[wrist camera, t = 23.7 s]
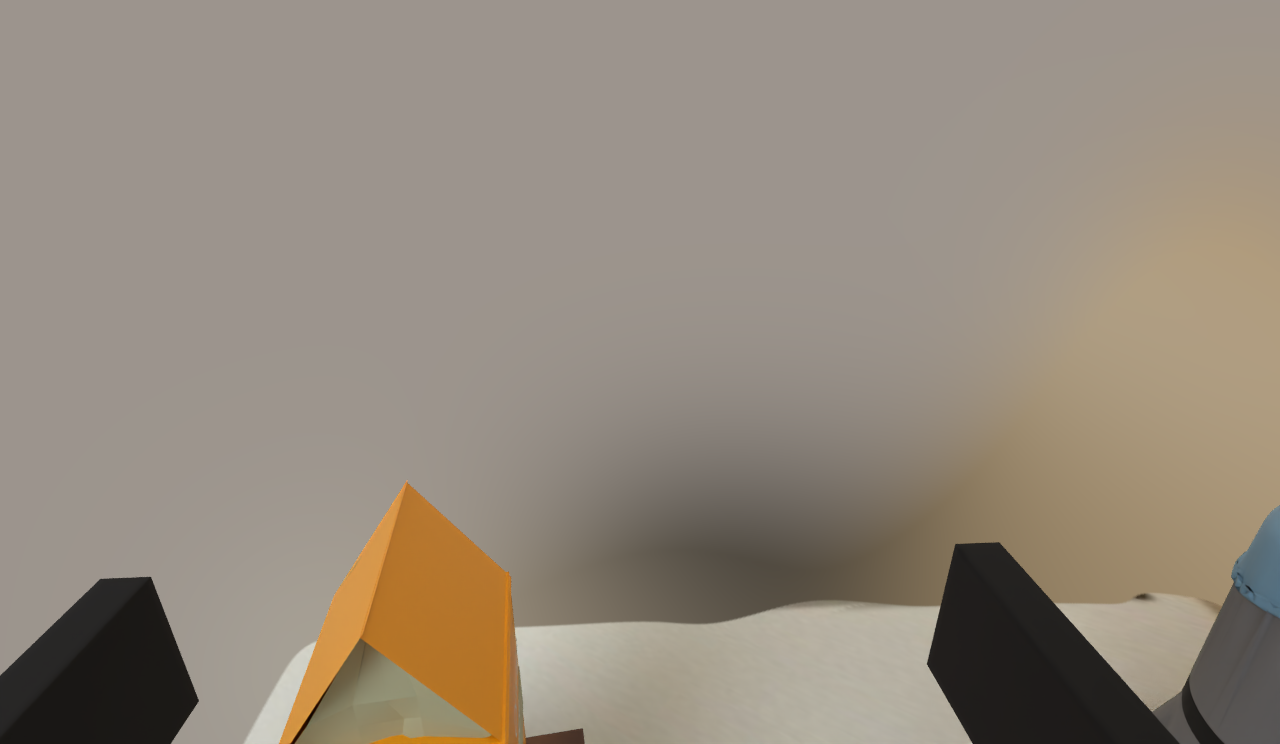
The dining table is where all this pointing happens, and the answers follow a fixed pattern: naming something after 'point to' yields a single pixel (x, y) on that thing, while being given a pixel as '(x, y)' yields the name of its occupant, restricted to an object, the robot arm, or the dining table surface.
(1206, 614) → the dining table surface
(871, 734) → the dining table surface
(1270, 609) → the robot arm
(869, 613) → the dining table surface
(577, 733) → the stand
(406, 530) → the orange juice
